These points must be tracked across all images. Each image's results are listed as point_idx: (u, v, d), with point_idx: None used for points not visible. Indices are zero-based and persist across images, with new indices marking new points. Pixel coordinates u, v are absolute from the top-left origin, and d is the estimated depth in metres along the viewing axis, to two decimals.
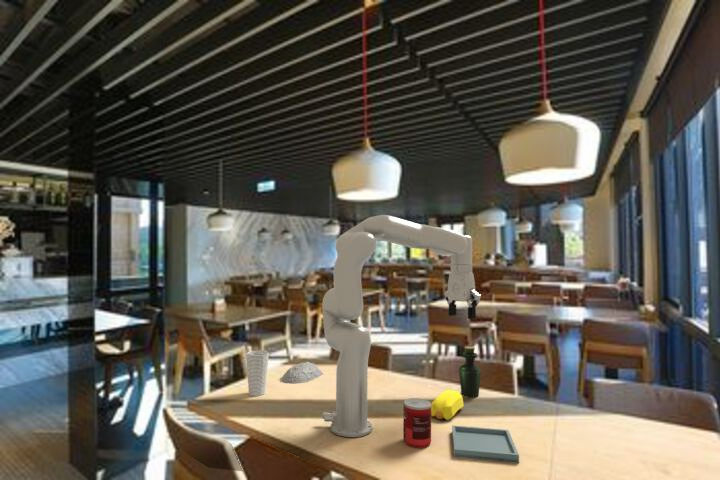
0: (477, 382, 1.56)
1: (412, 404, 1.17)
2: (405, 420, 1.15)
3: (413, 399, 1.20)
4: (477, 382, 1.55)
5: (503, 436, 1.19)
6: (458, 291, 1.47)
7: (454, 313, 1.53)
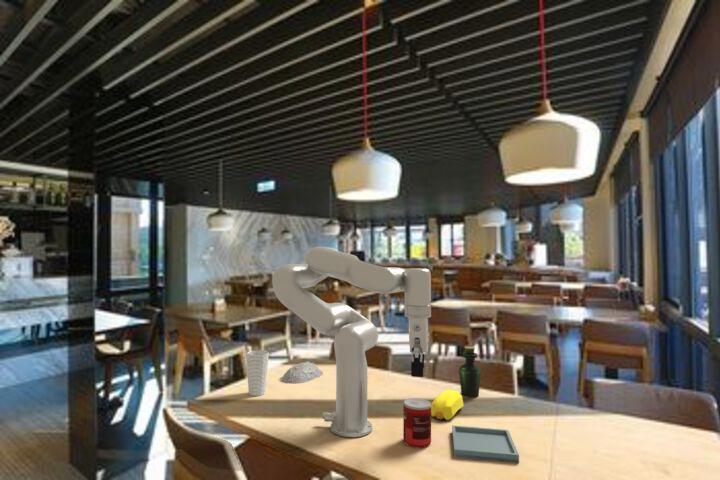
0: (477, 382, 1.56)
1: (412, 404, 1.16)
2: (405, 420, 1.15)
3: (413, 399, 1.20)
4: (477, 382, 1.55)
5: (503, 436, 1.19)
6: None
7: None
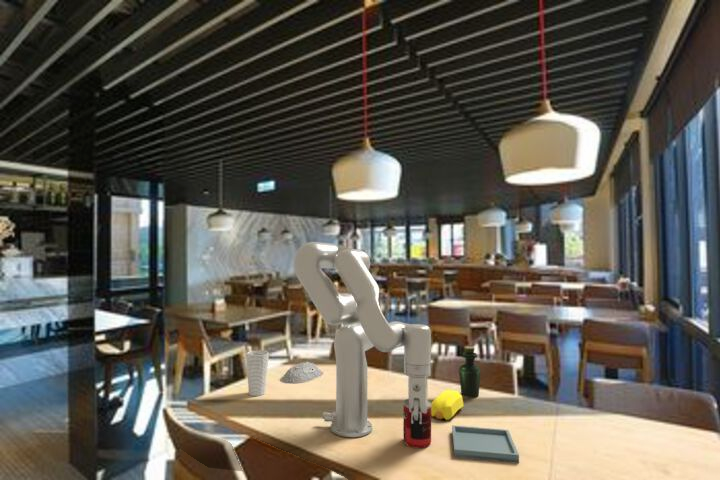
0: (477, 382, 1.56)
1: None
2: (405, 420, 1.15)
3: None
4: (477, 382, 1.55)
5: (503, 436, 1.19)
6: (427, 395, 1.18)
7: None
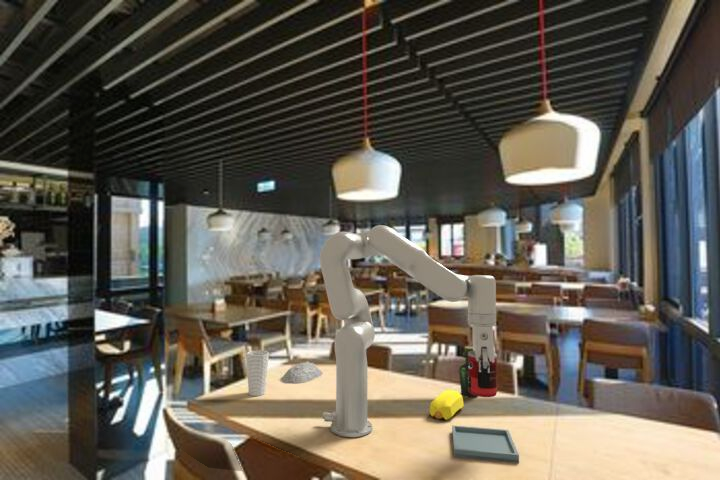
0: None
1: None
2: (471, 370, 1.14)
3: None
4: None
5: (503, 436, 1.19)
6: None
7: None
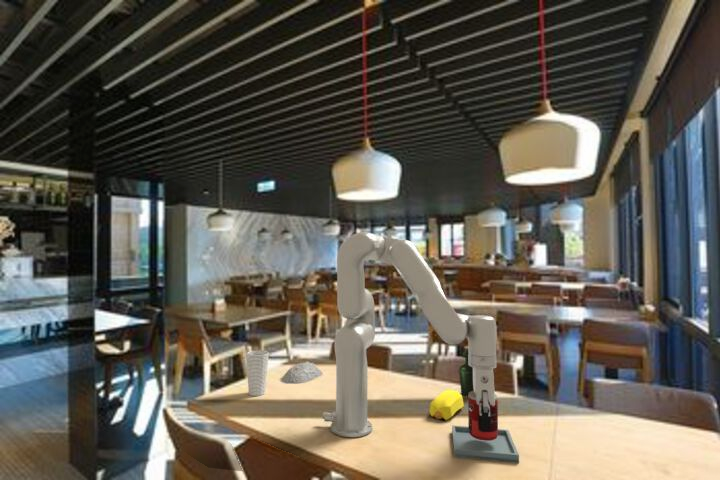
0: None
1: None
2: (471, 412, 1.13)
3: None
4: None
5: (503, 436, 1.19)
6: None
7: None
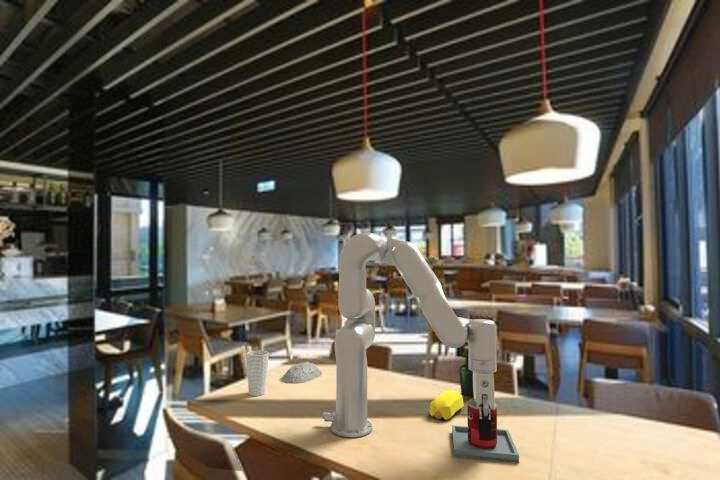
0: None
1: None
2: (470, 421, 1.13)
3: None
4: None
5: (503, 436, 1.19)
6: None
7: None
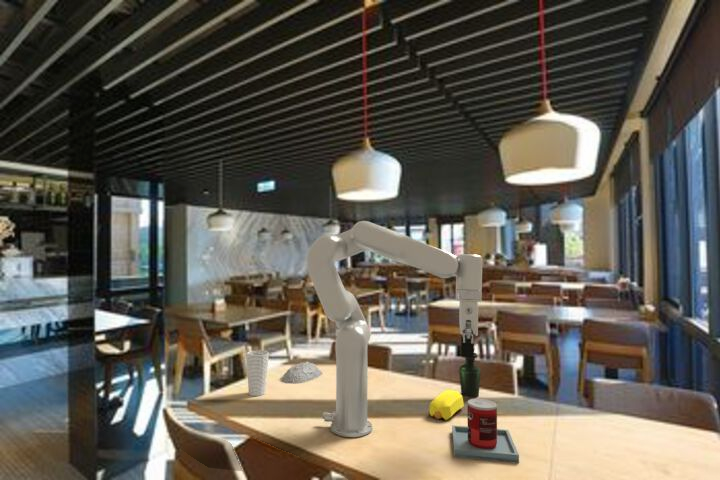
0: (477, 382, 1.56)
1: (477, 404, 1.14)
2: (470, 421, 1.13)
3: (476, 399, 1.18)
4: (477, 382, 1.55)
5: (503, 436, 1.19)
6: None
7: None
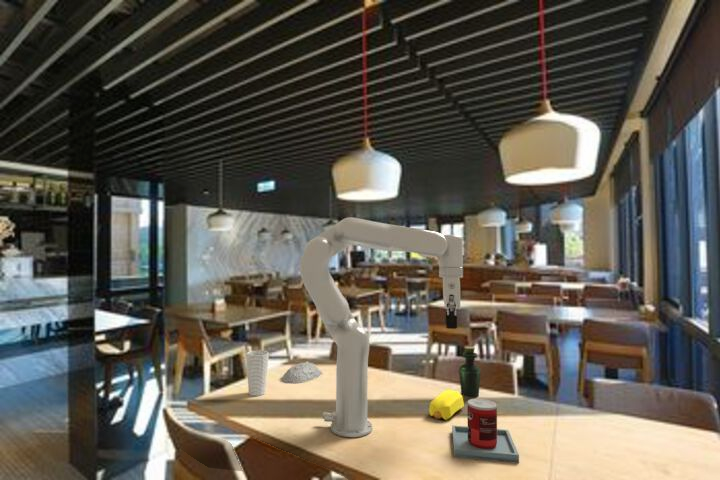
0: (477, 382, 1.56)
1: (477, 404, 1.14)
2: (470, 421, 1.13)
3: (476, 399, 1.18)
4: (477, 382, 1.55)
5: (503, 436, 1.19)
6: None
7: None
